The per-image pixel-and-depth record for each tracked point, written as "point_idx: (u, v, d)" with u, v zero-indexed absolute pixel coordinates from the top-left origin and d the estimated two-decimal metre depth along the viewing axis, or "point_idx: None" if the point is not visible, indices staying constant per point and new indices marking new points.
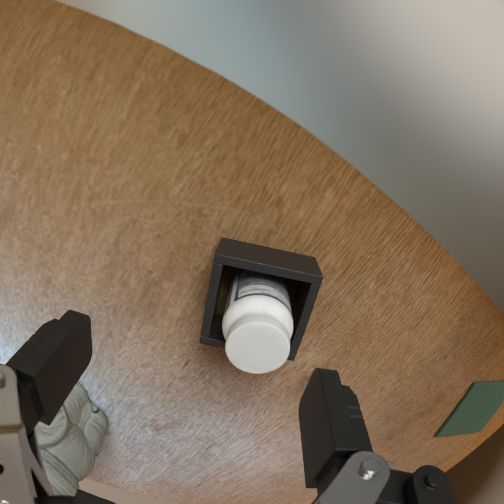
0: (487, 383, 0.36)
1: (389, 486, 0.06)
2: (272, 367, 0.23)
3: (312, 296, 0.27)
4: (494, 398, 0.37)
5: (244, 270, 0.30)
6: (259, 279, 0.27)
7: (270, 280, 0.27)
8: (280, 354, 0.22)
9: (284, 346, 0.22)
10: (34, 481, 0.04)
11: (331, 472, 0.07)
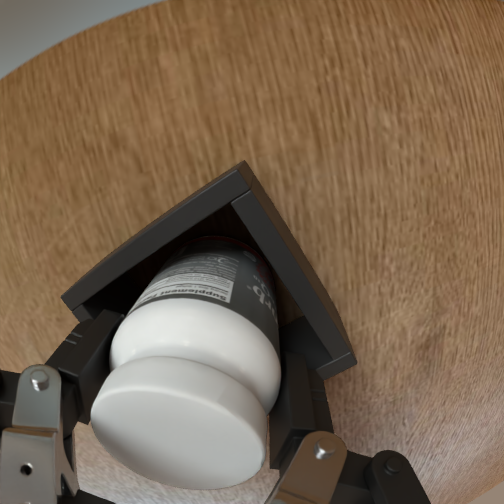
0: None
1: (348, 469, 0.06)
2: (249, 464, 0.07)
3: (260, 225, 0.10)
4: None
5: None
6: (154, 278, 0.12)
7: (172, 265, 0.12)
8: (228, 436, 0.06)
9: (209, 417, 0.06)
10: (62, 484, 0.05)
11: (290, 451, 0.07)
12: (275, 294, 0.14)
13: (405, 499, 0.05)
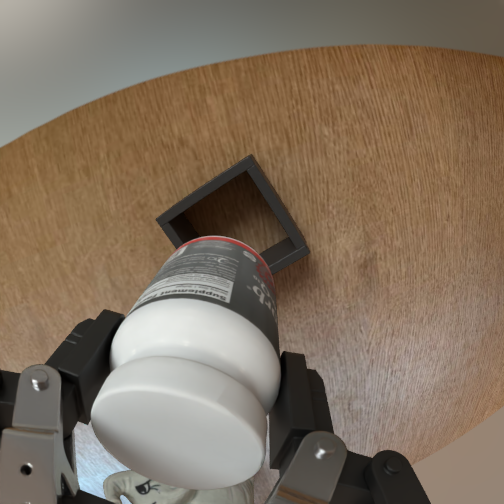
0: None
1: (348, 469, 0.06)
2: (249, 464, 0.07)
3: (259, 179, 0.24)
4: None
5: None
6: (154, 278, 0.12)
7: (172, 266, 0.12)
8: (227, 435, 0.06)
9: (209, 417, 0.06)
10: (62, 484, 0.05)
11: (290, 451, 0.07)
12: (275, 294, 0.14)
13: (405, 499, 0.05)
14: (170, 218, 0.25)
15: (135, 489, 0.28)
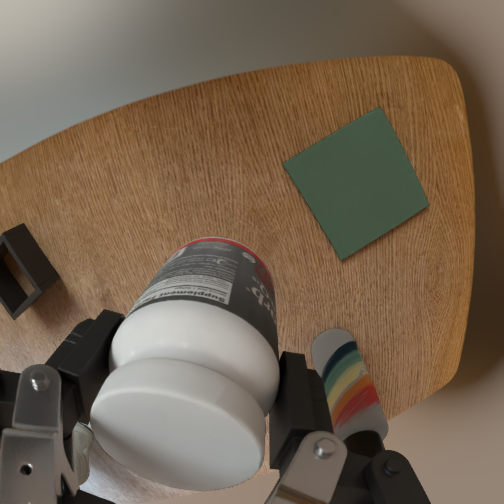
0: (311, 147, 0.30)
1: (348, 469, 0.06)
2: (248, 465, 0.07)
3: (9, 247, 0.30)
4: (367, 151, 0.30)
5: None
6: (153, 279, 0.12)
7: (171, 267, 0.12)
8: (226, 437, 0.06)
9: (208, 418, 0.06)
10: (62, 484, 0.05)
11: (290, 451, 0.07)
12: (274, 295, 0.14)
13: (405, 499, 0.05)
14: None
15: None
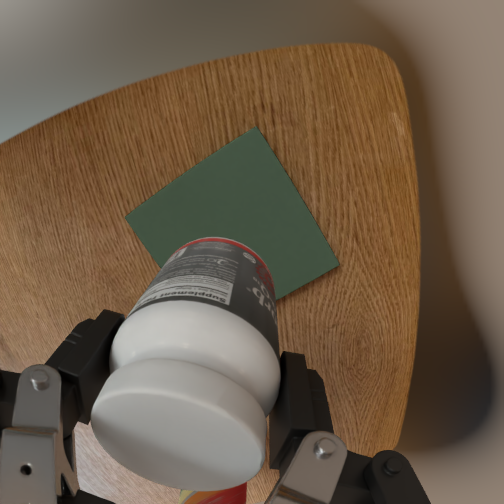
0: (157, 193, 0.23)
1: (348, 469, 0.06)
2: (249, 465, 0.07)
3: None
4: (236, 194, 0.23)
5: None
6: (154, 279, 0.12)
7: (171, 267, 0.12)
8: (227, 438, 0.06)
9: (209, 419, 0.06)
10: (62, 484, 0.05)
11: (290, 451, 0.07)
12: None
13: (405, 499, 0.05)
14: None
15: None
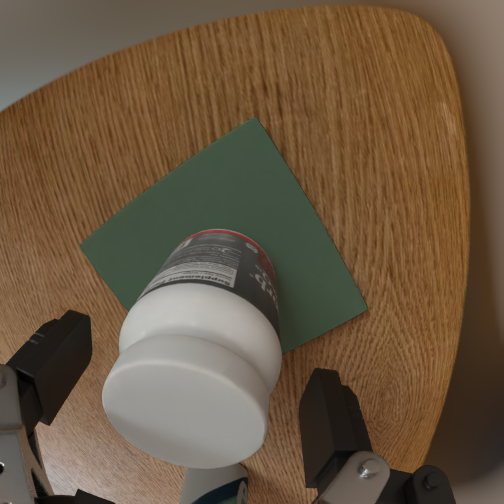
0: (118, 213, 0.16)
1: (389, 486, 0.06)
2: (252, 439, 0.08)
3: None
4: (227, 215, 0.16)
5: None
6: (161, 267, 0.13)
7: (178, 256, 0.13)
8: (232, 409, 0.07)
9: (216, 389, 0.07)
10: (34, 481, 0.04)
11: (331, 472, 0.07)
12: None
13: None
14: None
15: None
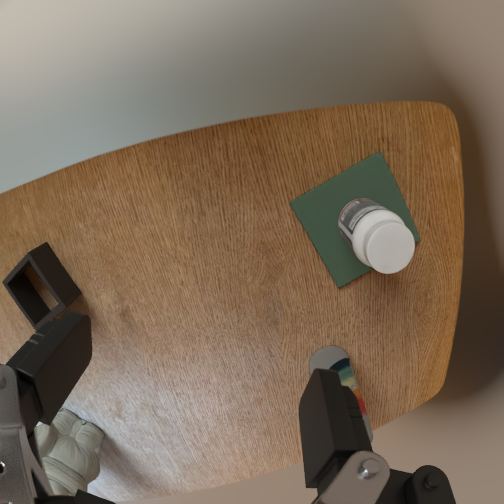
0: (315, 188, 0.34)
1: (389, 486, 0.06)
2: (410, 253, 0.26)
3: (34, 265, 0.35)
4: (366, 192, 0.34)
5: (341, 215, 0.34)
6: (355, 209, 0.31)
7: (362, 205, 0.31)
8: (407, 239, 0.26)
9: (405, 231, 0.25)
10: (34, 481, 0.04)
11: (331, 472, 0.07)
12: None
13: None
14: (7, 282, 0.36)
15: None
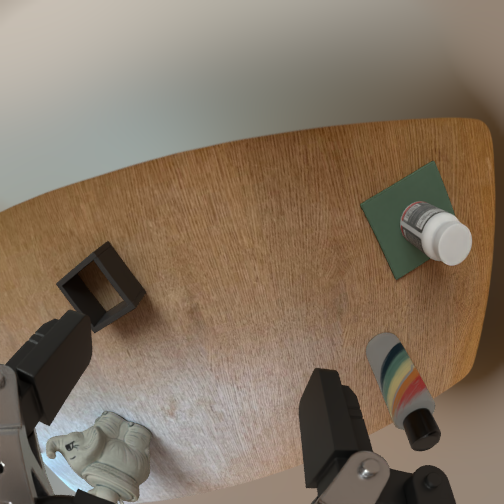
0: (382, 192, 0.37)
1: (389, 486, 0.06)
2: (468, 248, 0.29)
3: (100, 265, 0.37)
4: (422, 196, 0.37)
5: (404, 216, 0.37)
6: (419, 211, 0.34)
7: (424, 208, 0.34)
8: (467, 237, 0.28)
9: (466, 231, 0.28)
10: (34, 481, 0.04)
11: (331, 472, 0.07)
12: None
13: None
14: (62, 284, 0.39)
15: (65, 447, 0.42)
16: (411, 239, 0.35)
